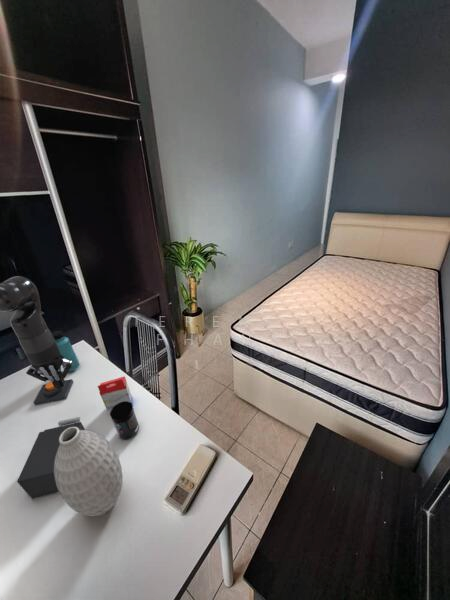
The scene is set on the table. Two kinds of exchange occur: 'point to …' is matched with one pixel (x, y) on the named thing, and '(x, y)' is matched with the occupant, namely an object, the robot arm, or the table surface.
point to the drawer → (66, 422)
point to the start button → (49, 386)
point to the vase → (87, 472)
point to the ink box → (115, 392)
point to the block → (53, 393)
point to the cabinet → (42, 464)
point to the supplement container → (124, 420)
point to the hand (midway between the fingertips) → (61, 386)
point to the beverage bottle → (65, 349)
